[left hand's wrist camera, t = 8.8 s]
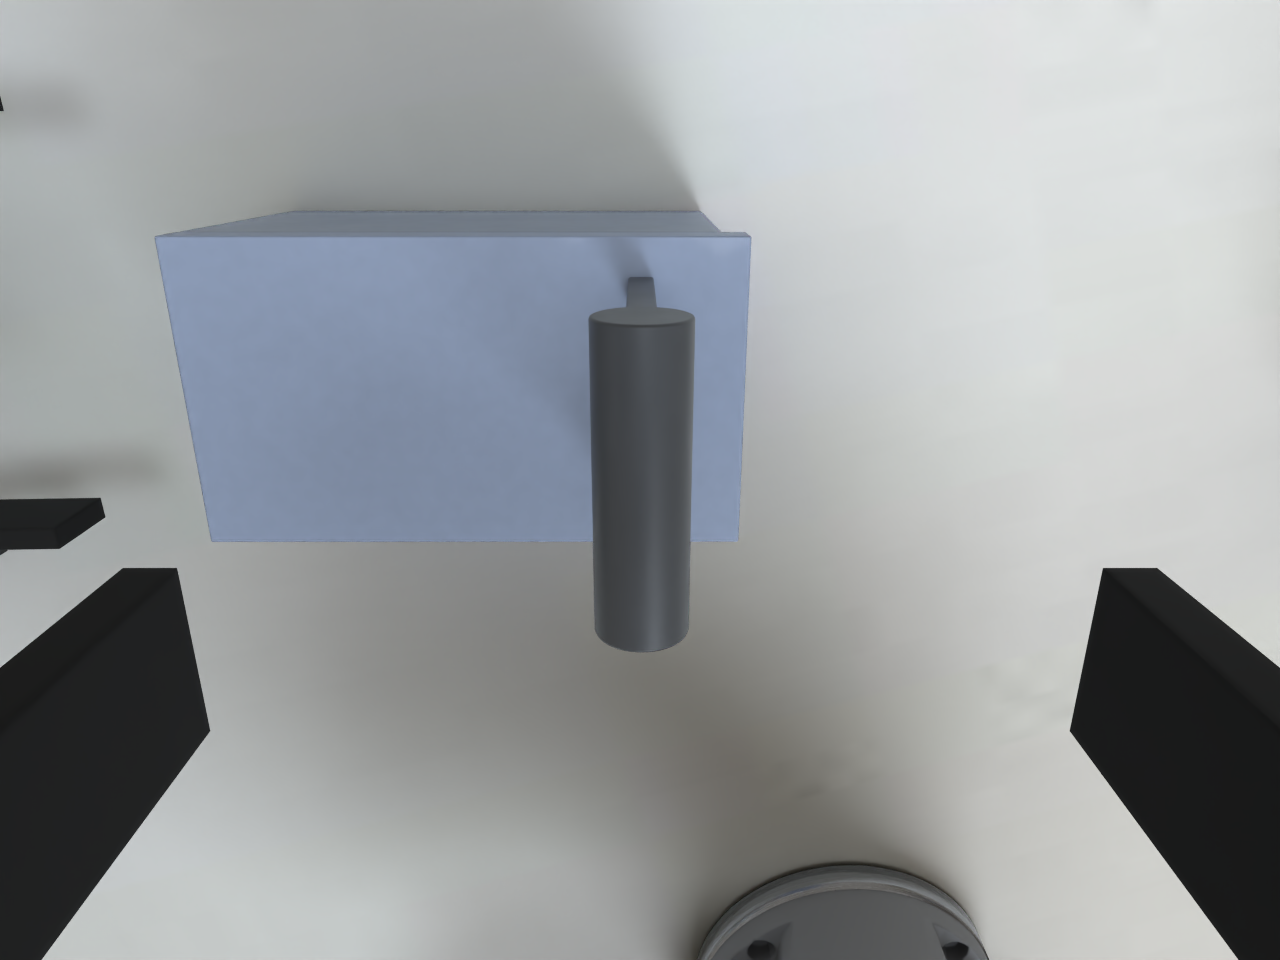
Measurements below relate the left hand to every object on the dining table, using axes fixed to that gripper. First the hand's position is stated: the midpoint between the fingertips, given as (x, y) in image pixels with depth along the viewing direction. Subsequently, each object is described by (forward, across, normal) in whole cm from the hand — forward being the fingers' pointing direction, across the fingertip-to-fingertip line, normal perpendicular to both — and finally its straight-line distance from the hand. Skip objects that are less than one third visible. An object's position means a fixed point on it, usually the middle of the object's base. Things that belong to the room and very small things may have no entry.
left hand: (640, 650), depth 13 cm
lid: (+15, +5, 0) cm, 16 cm away
